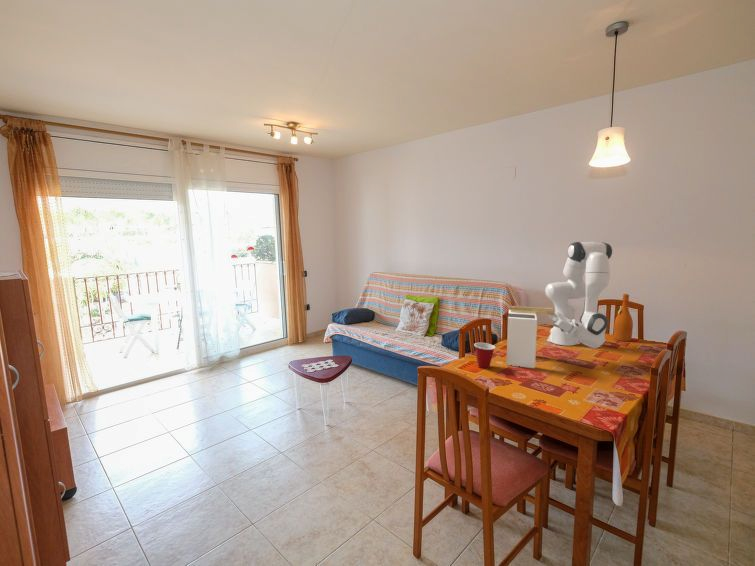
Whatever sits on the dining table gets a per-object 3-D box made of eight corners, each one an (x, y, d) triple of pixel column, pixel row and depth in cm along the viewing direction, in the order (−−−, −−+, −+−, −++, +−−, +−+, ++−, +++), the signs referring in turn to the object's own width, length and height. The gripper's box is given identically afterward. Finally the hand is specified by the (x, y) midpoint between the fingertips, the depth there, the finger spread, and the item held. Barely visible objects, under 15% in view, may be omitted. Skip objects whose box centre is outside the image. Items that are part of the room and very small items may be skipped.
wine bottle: (617, 336, 238) (621, 292, 234) (634, 340, 230) (638, 294, 225) (610, 339, 233) (613, 293, 228) (627, 342, 224) (631, 296, 220)
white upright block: (507, 352, 211) (508, 309, 207) (533, 355, 206) (535, 310, 202) (506, 365, 191) (508, 317, 187) (534, 368, 186) (537, 319, 182)
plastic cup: (498, 370, 185) (498, 347, 183) (477, 371, 184) (478, 348, 182) (490, 362, 195) (490, 341, 194) (470, 363, 195) (471, 342, 193)
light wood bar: (510, 310, 203) (510, 305, 203) (553, 313, 195) (553, 308, 195) (510, 312, 201) (510, 306, 200) (553, 314, 193) (554, 309, 192)
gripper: (573, 318, 200) (550, 304, 204) (579, 327, 181) (553, 312, 185) (566, 327, 202) (543, 313, 206) (571, 337, 183) (546, 322, 187)
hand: (548, 313), depth 195 cm, fingers open, 8 cm apart
